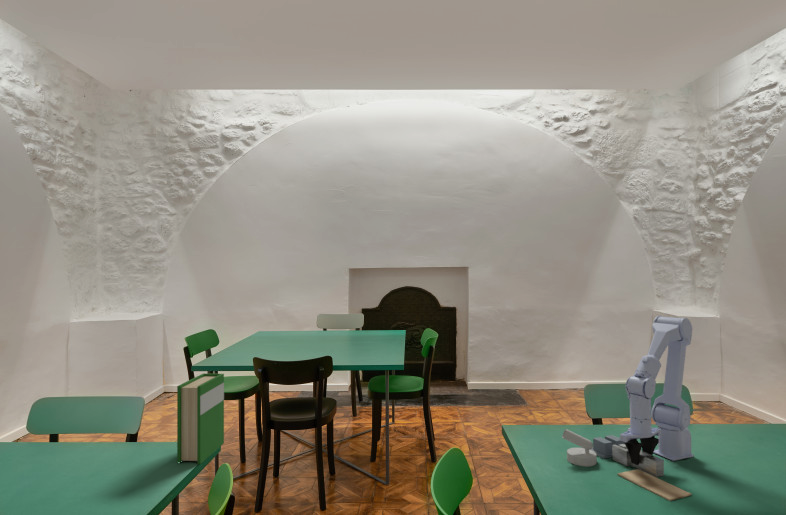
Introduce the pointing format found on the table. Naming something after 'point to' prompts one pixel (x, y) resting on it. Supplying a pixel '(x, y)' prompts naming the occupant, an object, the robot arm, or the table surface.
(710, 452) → the table surface
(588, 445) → the wall hook
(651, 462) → the steel fork
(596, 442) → the vise
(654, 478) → the cork mat
